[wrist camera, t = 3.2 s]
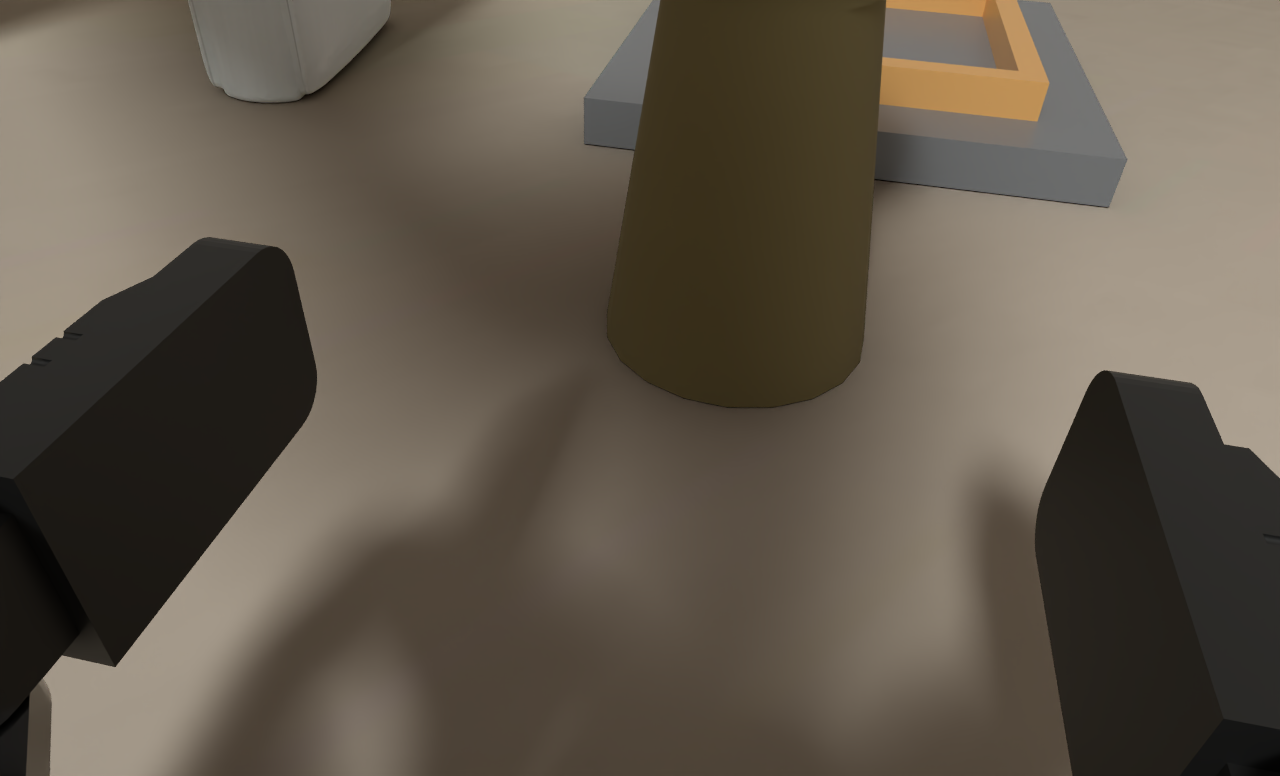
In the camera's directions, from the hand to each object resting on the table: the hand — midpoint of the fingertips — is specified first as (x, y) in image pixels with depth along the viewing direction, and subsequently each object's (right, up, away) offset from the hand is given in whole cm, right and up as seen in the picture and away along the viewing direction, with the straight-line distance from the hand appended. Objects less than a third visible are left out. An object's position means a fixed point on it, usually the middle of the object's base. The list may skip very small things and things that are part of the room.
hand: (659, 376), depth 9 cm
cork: (+2, +1, +12) cm, 13 cm away
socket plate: (+8, +11, +25) cm, 29 cm away
